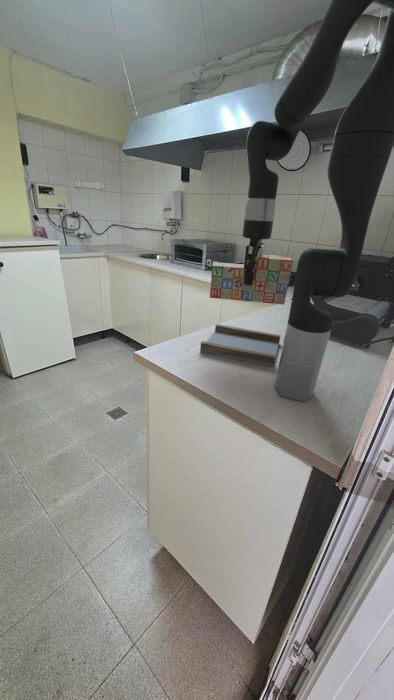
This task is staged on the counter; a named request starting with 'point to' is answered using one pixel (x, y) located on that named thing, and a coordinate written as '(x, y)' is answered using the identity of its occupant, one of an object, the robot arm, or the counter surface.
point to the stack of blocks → (266, 280)
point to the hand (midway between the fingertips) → (250, 282)
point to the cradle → (242, 345)
